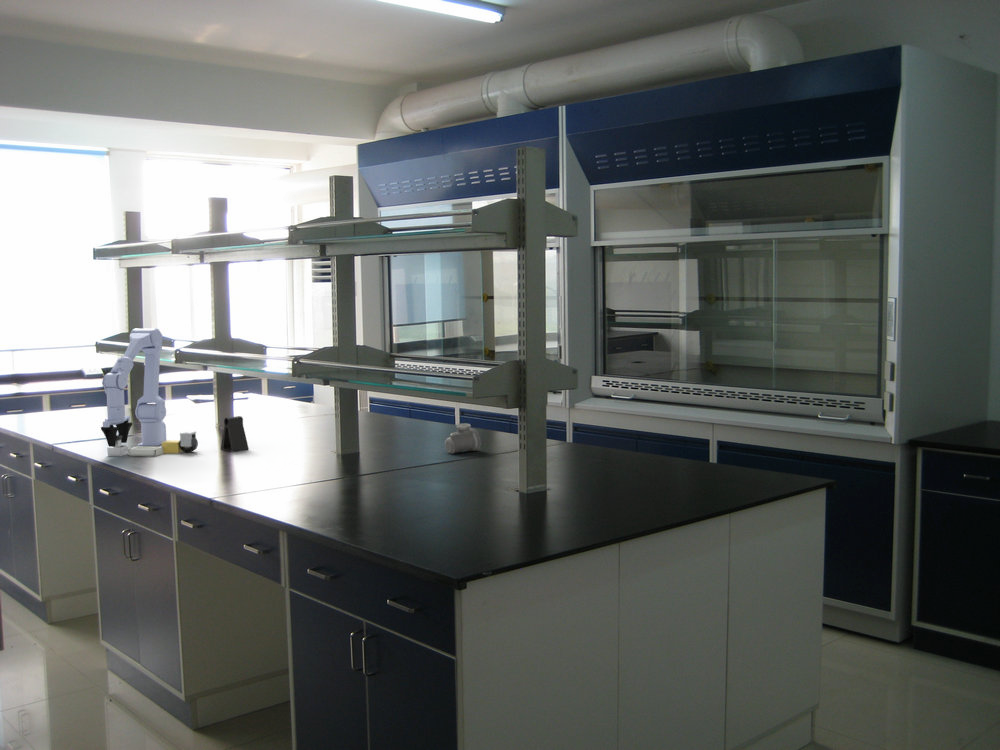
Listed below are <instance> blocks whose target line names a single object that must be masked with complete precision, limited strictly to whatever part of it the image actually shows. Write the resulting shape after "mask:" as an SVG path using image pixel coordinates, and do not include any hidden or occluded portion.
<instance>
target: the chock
mask: <svg viewBox="0 0 1000 750" xmlns="http://www.w3.org/2000/svg"><path fill="white" fill-rule="evenodd" d="M179 441H180V440H170V439H169V440H167V439H166V441H164V442H162V444H161V447H163V448H164V453H163V454H179V453H180V454H181V453H182V452H183V451H182V450H181V449H180V447H179Z"/></svg>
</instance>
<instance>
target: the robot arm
mask: <svg viewBox="0 0 1000 750" xmlns="http://www.w3.org/2000/svg"><path fill="white" fill-rule="evenodd" d="M162 350H163V334H162V332H161V331H160V329H159V328H157V327H156V328H137V327H136V328H133V329H132V330H131V331H130V334H129V344H128V346H127V348H126V349H125V352H124V355H123V356H120V357H118V358H117V359H116V362H115V363H114V364H113V366H112V368H111V370H110V372H107V373H106V374H105V375H103V377H102V381H101V383H102V384H101V385H102V387H103V388H104V393H105V394H106V409H107V418H105V419H104V421H103V422H102V426H101V427H100V429H101V430H100V431H102V433H103V434H104V436H105V439H106V442H107V445H108V447H114V446H115V445H116V435H122V438H121V444H126V443H127V442H128V439H129V438H128V436H129V433H130V430H131V428H132V426H133V422H131V416H129V415H126V407H125V388H126V387H127V386H128V379H129V375H130V373H131V371H132V369H133V368H134V362H133V361H134V360H135V358H136V357H137V355H138V354H139V353H140V352H141V351H142V352H143V353H144V357H145V358H144V373H143V375H144V376H143V395H142V396H141V397H139V399H137V404H136V408H135V411H134V412H135V413H134V414H135V417H136V419H137V420H138V422H140V427H141V443H138V444H137V445H136V446H150V447H159V446H162V442H164V441H167V426H166V423H165V422H164V419H165V418H166V415H167V408H166V401H165V400H164V399H163V398H162V397H161V396H160V395H159V389H160V388H159V385H160V383H159V382H160V362H161V361H160V359H161V351H162ZM117 433H118V434H117Z"/></svg>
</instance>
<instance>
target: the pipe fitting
mask: <svg viewBox="0 0 1000 750" xmlns="http://www.w3.org/2000/svg"><path fill="white" fill-rule="evenodd" d="M455 427H456V430H457V431H455V432H451V433H450V435H449V437H447V438H446V439H445V440H444V448H445V451H446V452H447V453H448V454H450V455H453V454H456V453H460V452H461V453H462V452H463V451H470V452H475V451H478V450H479V449H480V448H481V444H482V443H481V442H482V441H481V437H480V434H479V432H478V431H477V430H476V429H474V428H471V427H472V426H471V424H470V423H458V424H457V425H456V426H455Z"/></svg>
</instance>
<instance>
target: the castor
mask: <svg viewBox="0 0 1000 750" xmlns="http://www.w3.org/2000/svg"><path fill="white" fill-rule="evenodd" d="M179 436H180V439H179V440H178V441H179V447H180V449H181V450H182V452H184V453H186V454H187V453H188V454H189V453H192V452H194V451H196V450H197V449H198V444H199V442H198V439H197V431H187V430H185V431H182V432H180V433H179Z"/></svg>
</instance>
